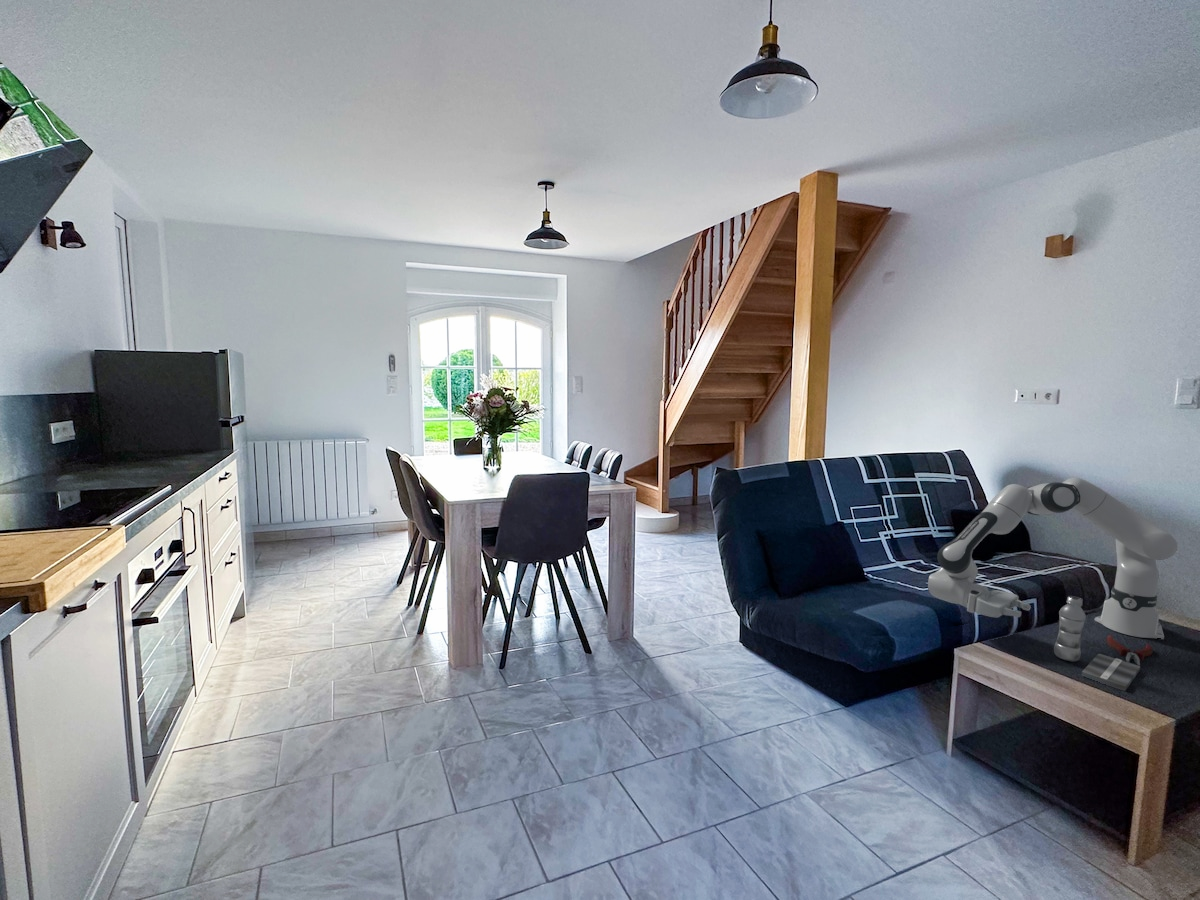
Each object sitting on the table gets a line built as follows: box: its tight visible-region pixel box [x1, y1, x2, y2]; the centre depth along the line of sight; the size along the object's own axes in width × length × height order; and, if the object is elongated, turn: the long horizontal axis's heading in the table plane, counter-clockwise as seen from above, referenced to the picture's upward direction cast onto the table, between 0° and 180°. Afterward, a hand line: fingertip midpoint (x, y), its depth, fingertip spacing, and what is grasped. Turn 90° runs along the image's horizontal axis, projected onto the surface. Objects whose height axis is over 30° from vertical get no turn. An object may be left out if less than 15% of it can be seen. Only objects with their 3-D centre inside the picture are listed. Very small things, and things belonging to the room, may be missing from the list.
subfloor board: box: [1080, 653, 1141, 692], centre depth 180 cm, size 20×10×2 cm, turn 129°
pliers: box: [1106, 635, 1154, 667], centre depth 193 cm, size 12×20×3 cm, turn 142°
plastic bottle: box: [1053, 595, 1087, 662], centre depth 187 cm, size 6×7×20 cm
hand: (1025, 611), depth 196 cm, fingers open, 8 cm apart
